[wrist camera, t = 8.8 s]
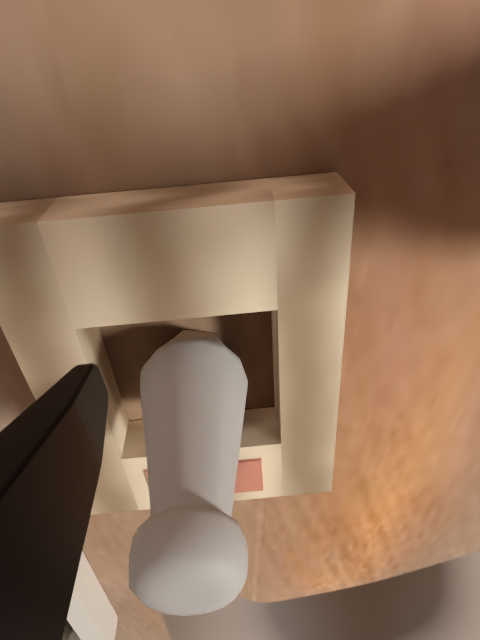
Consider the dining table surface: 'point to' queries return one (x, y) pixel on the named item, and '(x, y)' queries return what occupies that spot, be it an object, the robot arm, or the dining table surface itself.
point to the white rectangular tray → (90, 607)
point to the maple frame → (190, 307)
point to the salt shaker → (191, 478)
